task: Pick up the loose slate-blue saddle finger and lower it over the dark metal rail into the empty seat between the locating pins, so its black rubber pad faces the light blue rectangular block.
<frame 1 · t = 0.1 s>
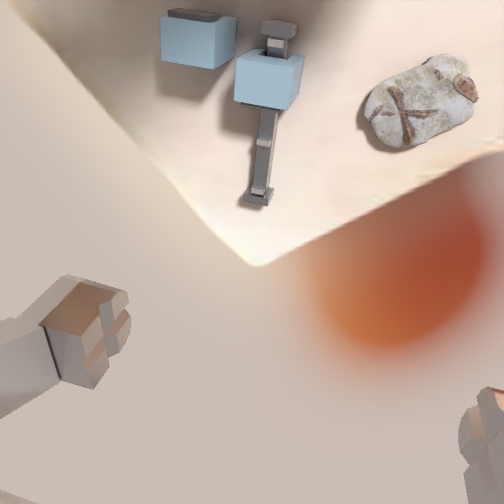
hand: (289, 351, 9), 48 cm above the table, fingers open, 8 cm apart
rail: (271, 117, 55), on the table
light blue rectangular block: (277, 71, 51), resting in rail
finger: (211, 34, 51), on the table
stone: (417, 102, 49), on the table
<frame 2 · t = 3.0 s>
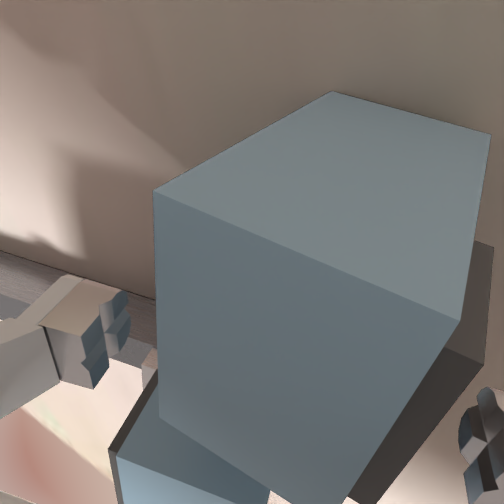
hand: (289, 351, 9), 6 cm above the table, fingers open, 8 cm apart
rail: (142, 310, 20), on the table
light blue rectangular block: (254, 346, 19), resting in rail
finger: (371, 208, 13), on the table, tilted 12°
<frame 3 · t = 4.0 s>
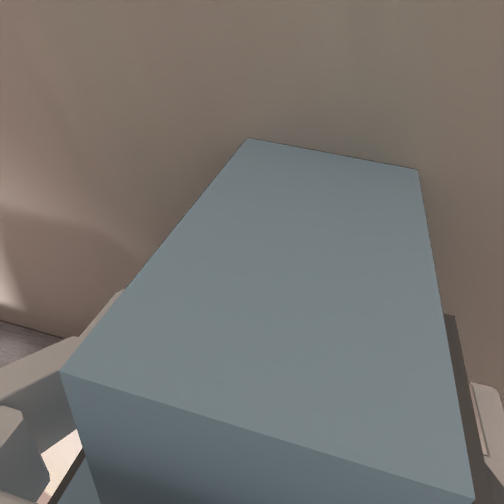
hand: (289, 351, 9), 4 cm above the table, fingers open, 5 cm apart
rail: (90, 359, 19), on the table
light blue rectangular block: (208, 394, 18), resting in rail
finger: (308, 250, 12), on the table, touching gripper
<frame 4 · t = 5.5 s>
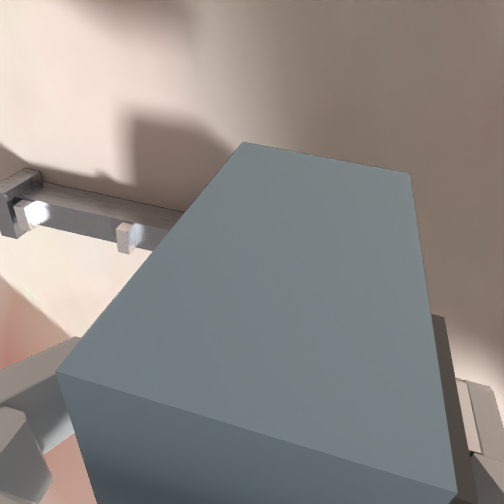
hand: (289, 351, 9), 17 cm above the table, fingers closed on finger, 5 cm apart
rail: (176, 222, 29), on the table
finger: (303, 253, 13), point 12 cm above the table, touching gripper
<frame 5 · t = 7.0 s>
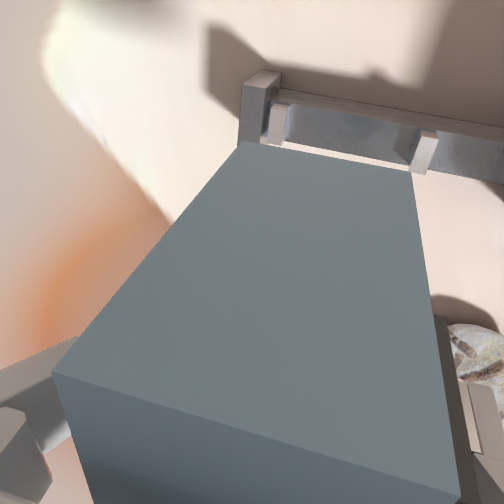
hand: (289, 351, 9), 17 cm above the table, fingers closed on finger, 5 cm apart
rail: (463, 140, 22), on the table
finger: (303, 252, 12), point 13 cm above the table, touching gripper
stone: (450, 364, 31), on the table
when the fingers open (5 cm above the table, at t = 9.2 s): finger drops 1 cm, resting in rail.
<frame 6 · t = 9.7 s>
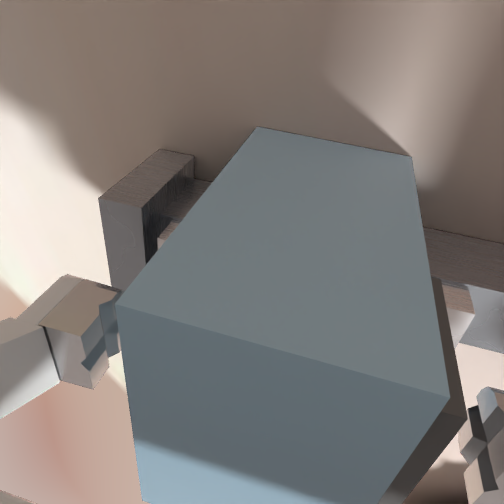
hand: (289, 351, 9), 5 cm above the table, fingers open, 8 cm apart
finger: (310, 232, 13), resting in rail
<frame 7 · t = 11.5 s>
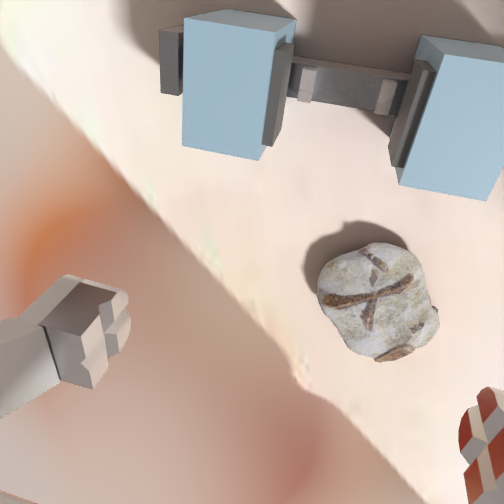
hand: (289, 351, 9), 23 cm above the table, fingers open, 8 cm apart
rail: (346, 80, 26), on the table
light blue rectangular block: (439, 95, 26), resting in rail
finger: (255, 67, 27), resting in rail
stone: (374, 290, 36), on the table
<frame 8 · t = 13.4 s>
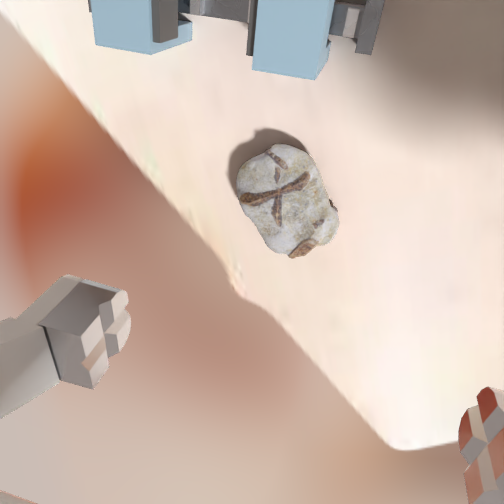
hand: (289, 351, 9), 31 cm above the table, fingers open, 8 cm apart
rail: (237, 2, 33), on the table
light blue rectangular block: (308, 12, 32), resting in rail
stone: (288, 195, 42), on the table
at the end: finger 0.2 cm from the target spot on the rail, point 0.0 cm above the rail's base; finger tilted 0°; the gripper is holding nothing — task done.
